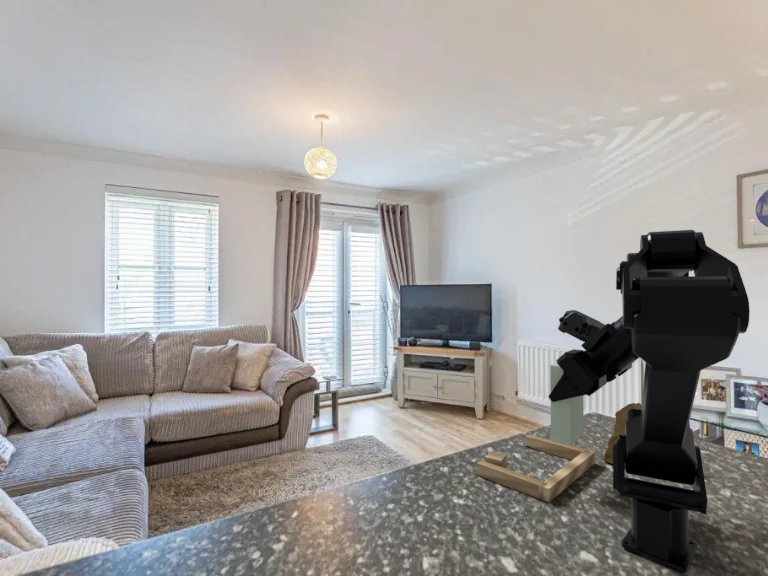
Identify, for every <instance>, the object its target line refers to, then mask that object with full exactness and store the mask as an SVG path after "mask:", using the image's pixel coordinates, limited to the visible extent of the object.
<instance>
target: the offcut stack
mask: <svg viewBox="0 0 768 576" xmlns="http://www.w3.org/2000/svg"><path fill="white" fill-rule="evenodd" d="M484 461H486V462H488V463H491V464H494V465H497V466H500V467H503V468H506V469H508V470H511V465H510V464H511V463H510V462H509V461H508V454H506V453H501V452H498V451H494V450H491V451H489V452H488V453H487V454H486V455H485V456H484Z"/></svg>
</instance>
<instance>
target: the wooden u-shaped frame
mask: <svg viewBox="0 0 768 576" xmlns="http://www.w3.org/2000/svg"><path fill="white" fill-rule="evenodd" d="M524 439H525V447H526V446H529V447H528V448H530V447H531V448H530V449H533V448H534V450H536V449H537V451H539V452H544V453H547V454H550V455H554V456H557V457H559V458H560V457H561V458H564V459H568V460H570V461H569V462H568V463H566V464H565V465H564V466H563V467H561V468H560V469H559V470H557V471H556V472H554V473H553V474H552V475H551V476H550V477H548V478H547V479H546V480H544V481H542V480H539V479H537V478H534V477H531V476H528V475H525V474H522V473H520V472H516V471H514V470H511V469H510V470H508V469H506V468H503V467H500V466H497V465H494V464H491V463H488V462H486V461H485V460H482V459H481V460H479V461H477V462H476V475H477V476H478V477H481V478H484V479H487V480H489V481H491V482H495V483H498V484H499V485H502V486H505V487H507V488H510V489H513V490H515V491H518V492H521V493H523V494H525V495H528V496H531V497H534V498H536V499H539V500H542V501H544V502H547V503H551V502H552V501H553V500H554V499H555V498H556V497H557V496H559V495H560V494H561V493H562V492H564V490H565V489H567V488H568V487H569V486H570V485H571V484H572V483H573V482H575V481H576V480H577V479H579V478H580V477H581V476H582V475H583V474H584V473H585V472H586V471H588V470H589V469H590V468H591V467H593V466H594V465H595V464H596V452H595V451H593V450H590V449H589V450H588V449H585V448H581V447H577V446H574V445H571V446H570V445H566V444H562V443H558V442H554V441H551V439H548V438H544V437H541V436H537V435H534V434H530V433H528V434H527V435H525V438H524Z"/></svg>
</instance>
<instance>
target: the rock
mask: <svg viewBox="0 0 768 576" xmlns="http://www.w3.org/2000/svg"><path fill="white" fill-rule="evenodd" d="M630 409H639V410H641V409H642V403H640V402H637V403H635V402H633V403H632V402H630V403H628V404H627V405H625V406H623V407H622V408H621V409H619V410H618V411H615V414H614V416H615V419H614V420H615V421H614V426H613V429H612V430H613V431H612V434H611V436H610V437H609V439H608V442H607V447H606V450H605V452H604V454H603V457H602V461H603V462H606V463H608V464H611V465H613V444H615V443H616V442H617V439H619V434H621V435H625V423H626V421H627V415H628V411H629V410H630Z"/></svg>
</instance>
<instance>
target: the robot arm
mask: <svg viewBox="0 0 768 576" xmlns="http://www.w3.org/2000/svg"><path fill="white" fill-rule="evenodd" d="M639 241H640V243H639V251H638V252H629V253H627V254H626V260H621V262H620V263H619V266H618V268H616V279H615V282H616V283H615V289H616V290H617V291H620V294H621V295H622V296H621V297H622V298H621V299H622V300H621V301H622V302H621V303H622V316H620V317H619V318H618V319H617V320H615V321H614V322H612V323H605V324H604V323H603V322H601V321H599V320H597V319H595V318H593V317H591V316H589V315H587V314H585V313H583V312H581V311H578V310H575V309H571V310H570V309H569V310H567V311H565V313H564V314H563V316H561V317H560V318H559V319H558V321H559V322H558V323H559V325H558V328H557V329H558V331H560V333H563V334H568V335H569V336H571V337H574V338H576V339H577V340H579V341H581V342H583V343H582V344H581V345H580V346H581V347H582V348H583V349H584V350H583V349H576V348H575V349H570V350H568V351H566V352H564V353H562V355H560V356H559V358H557V359H556V363H557V364H558V365H559V366H560V367H561V368H562V370H563V375H562V377H561V378H560V380H559V381H558V383H557V384H556V386H555V387H554V389H553V390H552V392H551V391H550V392H549V394H548V396H547V397H548V399H549V400H550V402H551V401H552V402H556V401H560V400H565V399H569V398H574V397H578V396H583V397H584V396H587V397H590V396H591V395H593V394H595V393H596V392H598V390H600V389H601V388H602V387H604V386H605V385H607V383H611V382H613V381H614V380H616V379H617V376H618V377H620V376H621V377H622V375H624V374H625V373H627V372H628V371H629V370H631V369H632V368H633V363H634V362H636V361H637V360H638V359H641V360H642V361H643V362H645V367H644V377H643V387H642V388H643V389H642V398H641V399H642V400H641V405H642V409H641V410H639V409H630V410H629V411H628V415H627V421H626V423H625V435H621V434H619V439H617V442H616V443H615V444H613V464H612V489H614V490H616V491H617V492H618V493H619V497H621V498H628V499H629V498H630V499H631V509H630V511H631V517H630V518H631V522H630V525H631V527H630V529H629V530H628V532H627V533H626V534H625V536H624V537H623V539H622V540H621V547H622V548H624V549H625V550H628V551H631V552H633V553H636V554H638V555H641V556H643V557H646V558H648V559H650V560H652V561H656V563H657V562H658V563H660V564H662V565H664V566H668V567H670V568H672V569H675V570H677V571H680V572H682V573H687V572H688V570H689V568H690V566H691V564H692V561H693V559H694V557H695V554H696V552H697V549H698V544H697V543H696V542H695V541H693V540H690V539H689V528H690V527H689V526H690V525H689V521H690V520H689V517H690V516H689V514H690V513H689V511H692V512H696V513H699V514H702V515H707V511H708V495H707V489H706V488H707V487H706V480H705V474H704V468H703V462H702V461H703V460H702V452H701V448H700V446H699V445H695V439H694V430H693V429H692V428H691V424H690V418H691V416H692V415H691V414H692V410H693V406H694V401H695V397H696V394H697V393H696V392H697V388H698V385H699V380H700V375H701V372H702V370H704V369H707V368H709V367H712V366H714V365H716V364H718V363H720V362H723V361H724V360H727V359H729V357H730V356H731V354H732V352H733V350H734V348H735V345H736V344H737V341H738V338H739V335H740V334H745V333H746V332H747V331H748V327H749V324H750V301H749V297H748V292H747V290H746V287H745V284H744V281H743V278H742V276H741V271H740V270H739V267H738V265H737V264H736V263H735V262H733V261H732V260H731V259H728V258H727V257H725V256H724V255H723V254H721V253H719V252H717V251H716V250H714V249H712V248H711V247H709V246H708V245H707V243H706V239H705V236H704V233H703V231H697V232H696V230H694V229H685V230H664V231H649V232H648V233H647V234H641V235H640V239H639ZM690 272H693V274H694V275H692V276H691V275H690ZM625 474H628V475H633V476H639V477H643V478H650V479H655V480H659V481H660V480H661V481H666V482H672V483H675V484H676V483H677V484H680V485H681V484H682V485H686V486H687V485H688V486H692V489H690V488H685V487H680V486H675V485H671V484H670V485H669V484H665V483H664V484H663V483H659V482H653V481H648V480H644V479H637V478H632V477H627V476H625Z"/></svg>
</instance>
